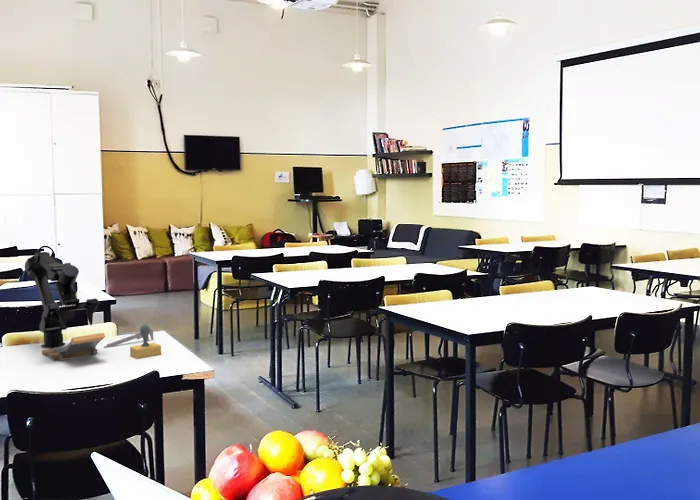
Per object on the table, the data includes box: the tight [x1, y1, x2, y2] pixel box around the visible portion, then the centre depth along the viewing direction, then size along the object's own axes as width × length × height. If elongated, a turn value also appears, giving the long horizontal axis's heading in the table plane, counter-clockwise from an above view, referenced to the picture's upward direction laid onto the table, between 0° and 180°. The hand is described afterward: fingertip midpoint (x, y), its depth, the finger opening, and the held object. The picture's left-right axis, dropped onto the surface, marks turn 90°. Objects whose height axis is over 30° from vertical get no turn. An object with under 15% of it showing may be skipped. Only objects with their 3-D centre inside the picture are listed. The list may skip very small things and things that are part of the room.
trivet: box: [41, 345, 98, 362], centre depth 261 cm, size 15×16×4 cm
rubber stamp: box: [129, 324, 162, 360], centre depth 259 cm, size 10×6×12 cm, turn 131°
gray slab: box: [62, 332, 106, 356], centre depth 251 cm, size 2×11×15 cm
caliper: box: [103, 325, 154, 349], centre depth 277 cm, size 20×1×6 cm, turn 131°
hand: (79, 326), depth 253 cm, fingers open, 9 cm apart
